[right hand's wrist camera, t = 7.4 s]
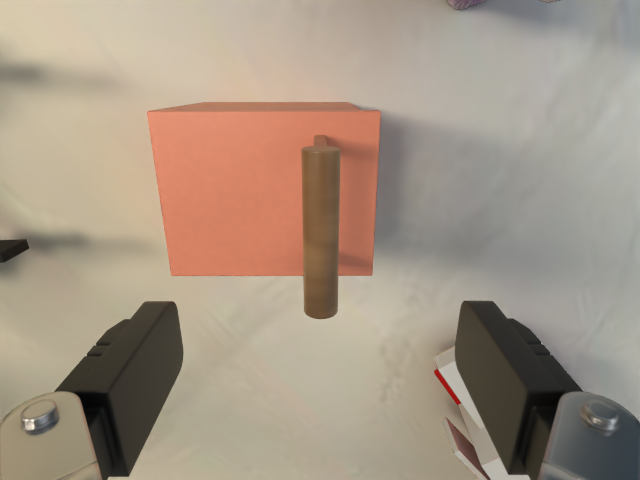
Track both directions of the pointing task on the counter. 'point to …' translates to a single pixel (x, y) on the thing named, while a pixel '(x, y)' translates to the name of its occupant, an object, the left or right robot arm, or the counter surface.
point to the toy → (469, 426)
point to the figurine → (464, 0)
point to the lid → (269, 194)
